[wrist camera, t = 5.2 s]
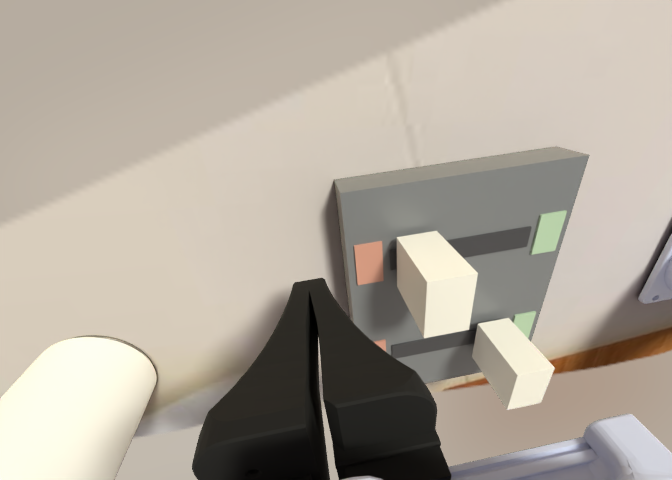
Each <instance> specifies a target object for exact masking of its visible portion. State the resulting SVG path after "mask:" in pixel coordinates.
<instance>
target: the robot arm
mask: <svg viewBox="0 0 672 480" xmlns="http://www.w3.org/2000/svg"><path fill="white" fill-rule="evenodd" d="M669 299H672V234H671V235H670V237H669V239H668V241H667V243H666V245H665V247H664V249H663V251H662V253H661V255H660V257H659V259H658V261H657V263H656V264H655V266H654V268H653V270H652V272H651V274H650V276H649V278H648V280H647V282H646V284H645V286H644V288H643V290H642V291H641V293H640V295H639V298H638V300H639V301H640V302H642V303H644V304H648V303H653V302H659V301H664V300H669ZM318 337H319V344H320V355H321V368H322V383H323V400H324V404H325V409H326V414H327V418H328V423H329V428H330V432H331V437H332V441H333V450H334V458H335V466H336V469H337V472H338V477H339V480H672V453H671V452H670V451H669V450H668V449H667V448H666V447H665V446H664V445H663V444H662V443H661V442H660V441H659V440H658V439H657V438H656V437H655V436H654V435H653V434H652V433H651V432H650V431H649V430H648V429H646V427H644V426H643V425H642V424H641V423H640V422H639V421H638V420H637V419H636V418H635V417H634V416H633V415H632V414H623V415H618V416H614V417H609V418H605V419H601V420H597V421H595V422H593V423H591V424H590V425H589V426H588V427H587V428H586V429H585V432H584V436H583V437H580V438H575V439H571V440H566V441H562V442H558V443H553V444H548V445H544V446H540V447H535V448H531V449H526V450H522V451H518V452H513V453H508V454H504V455H499V456H495V457H491V458H486V459H482V460H477V461H473V462H468V463H464V464H459V465H455V466H450V467H448V465H447V463H446V460H445V458H444V456H443V453H442V451H441V448H440V445H441V443H440V440H439V437H438V435H437V432H436V430H435V426H436V416H437V407H436V403H435V401H434V398H433V397H432V395H431V393H430V391H429V390H428V388H427V386H426V385H425V383H424V382H423V380H422V379H421V378H420V376H419V375H418V374H417V372H416V371H415V370H413V369H411V368H410V367H408V366H406V365H405V364H403V363H402V362H400V361H398V360H397V359H395V358H394V357H393V356H391V355H390V354H388V353H387V352H385V351H384V350H383V349H382V348H381V347H379V346H378V345H377V344H376V343H374V342H373V341H372V340H371V339H369V338H368V337H367V336H366V335H365V334H364V333H363V332H362V331H361V330H360V329H359V328H358V327H357V326H356V325H355V324H354V323H353V322H352V321H351V320H350V318H349V317H348V316H347V315H346V314H345V312H344V311H343V310H342V308H341V307H340V306H339V304H338V303H337V301H336V300H335V299H334V297H333V295H332V294H331V292H330V290H329V288H328V286H327V284H326V282H325V279H323V278H318V279H312V280H307V281H301V282H295V283H294V285H293V288H292V291H291V294H290V297H289V300H288V303H287V305H286V307H285V310H284V312H283V314H282V317H281V319H280V321H279V323H278V325H277V327H276V328H275V330H274V332H273V334H272V336H271V337H270V339H269V341H268V342H267V344H266V346H265V347H264V349H263V350H262V352H261V353H260V354H259V356H258V357H257V359H256V360H255V361H254V363H253V364H252V365H251V367H250V368H249V369H248V370H247V372H246V373H245V374H244V375H243V376H242V377H241V379H240V380H239V381H238V382H237V383H236V385H235V386H234V387H233V388H232V389H231V390H230V391H229V392H228V393H227V394H226V395H225V396H224V397H223V398H222V399H221V400H220V401H219V402H218V403H217V404H216V405H215V406H214V407H213V408H212V409H211V410H210V411H209V412H208V414H207V417H206V419H205V422H204V424H203V427H202V430H201V433H200V435H199V439H198V443H197V447H196V451H195V455H194V459H193V464H192V470H193V472H194V475H195V476H196V477H197V479H198V480H330V477H329V469H328V461H327V453H326V445H325V436H324V427H323V419H322V410H321V401H320V392H319V365H318Z"/></svg>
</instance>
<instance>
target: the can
mask: <svg viewBox="0 0 672 480" xmlns="http://www.w3.org/2000/svg"><path fill="white" fill-rule="evenodd" d="M156 381H157V376H156V372H155V369H154V367H153V365H152V363H151V361H150V359H149V358H148V357H147V355H146V354H145V353H144V352H142V351H141V350H140V349H138V348H137V347H135V346H133V345H131V344H129V343H127V342H125V341H122V340H119V339H115V338H111V337H105V336H81V337H75V338H71V339H67V340H64V341H61V342H58V343H56V344H54V345H52V346H50V347H49V348H47V349H46V350H45V351H44V352H43V353H42V354H41V355H40V356H39V357H38V358H37V359H36V360H35V361H34V362H33V363H32V364H31V366H30V367H29V368H28V369H27V370H26V371H25V372H24V373H23V374H22V375H21V376H20V378H19V379H18V380H17V381H16V382H15V383H14V384H13V385H12V386H11V387H10V388H9V390H8V391H7V392H6V393H5V394H4V395H3V396H2V397H1V398H0V480H115V477H116V475H117V473H118V470H119V468H120V466H121V464H122V461H123V459H124V457H125V454H126V452H127V450H128V448H129V445H130V443H131V441H132V438H133V436H134V434H135V432H136V429H137V427H138V425H139V422H140V420H141V418H142V416H143V413H144V411H145V409H146V406H147V404H148V402H149V399H150V397H151V395H152V392H153V390H154V387H155V385H156Z"/></svg>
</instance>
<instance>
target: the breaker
mask: <svg viewBox="0 0 672 480" xmlns="http://www.w3.org/2000/svg"><path fill="white" fill-rule="evenodd" d="M472 358H473V359H474V361H475V362H476V364H477V365H478V367H479V368H480V370H481V371H482V373H483V374H484V376H485V377H486V379H487V380H488V382H489V383H490V385H491V386H492V388H493V389H494V391H495V392H496V394H497V396H498V397H499V399H500V400H501V402H502V403H503V405H504V406H505V407H506V409H507V410H509V409H514V408H519V407H524V406H528V405H533V404H537V403H541V401H542V399H543V396H544V393H545V391H546V389H547V386H548V384H549V381H550V378H551V376H552V374H553V371H554V369H555V368H554V366H553V365H552V364H551V363H550V362H549V361H548V360H547V359H546V358H545V357H544V356H543V355H542V353H541V352H540V351H539V350H538V349H537V348H536V347H535V346H534V345H533V344H532V343H531V341H530V340H529V339H528V338H527V337H526V336H525V335H524V334H523V333H522V332H521V331H520V330H519V328H518V327H517V326H516V325H515V324H514V323H513V322H512V321H511V320H510V319H509V318H505V319H500V320H495V321H489V322H484V323H479V324H478V325H477V331H476V336H475V342H474V348H473V353H472Z"/></svg>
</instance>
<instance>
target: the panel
mask: <svg viewBox="0 0 672 480" xmlns="http://www.w3.org/2000/svg"><path fill="white" fill-rule="evenodd" d="M588 158H589V155H587V154H583V153H579V152H576V151H572V150H568V149H564V148H560V147H550V148H543V149H537V150H530V151H523V152H517V153H510V154H503V155H497V156H490V157H483V158H477V159H470V160H463V161H457V162H450V163H443V164H436V165H430V166H423V167H416V168H410V169H403V170H396V171H390V172H383V173H376V174H370V175H363V176H356V177H350V178H343V179H336V180H334V183H335V191H336V200H337V209H338V217H339V226H340V235H341V243H342V252H343V261H344V270H345V278H346V287H347V296H348V304H349V313H350V320H351V321H352V322H353V323H354V324H355V325H356V326H357V327H358V328H359V329H360V330H361V331H362V332H363V333H364V334H365V335H366V336H367V337H368V338H369V339H371V340H372V341H373V342H374V343H376V344H377V345H378V346H379V347H381V348H382V349H383V350H384V351H385V352H387V353H388V354H390V355H391V356H393V357H394V358H395V359H397V360H398V361H400V362H402V363H403V364H405V365H406V366H408V367H410V368H411V369H413V370H415V371H416V372H417V374H418V375H419V376H420V378H421V379H422V380H423V382H424V383H430V382H435V381H440V380H445V379H450V378H455V377H460V376H465V375H470V374H474V373H479V372H482V371H481V370H480V368H479V367H478V365H477V364H476V362H475V361H474V359H473V358H472V353H473V348H474V342H475V336H476V331H477V325H478V324H479V323H484V322H489V321H495V320H500V319H505V318H509V319H510V320H511V321H512V322H513V323H514V324H515V325H516V326H517V327H518V328H519V330H520V331H521V332H522V333H523V334H524V335H525V336H526V337H527V338H528V339H529V340H530V341H531V339H532V336H533V333H534V330H535V327H536V324H537V320H538V317H539V314H540V311H541V308H542V304H543V301H544V298H545V295H546V292H547V289H548V285H549V282H550V279H551V276H552V273H553V269H554V266H555V263H556V260H557V257H558V253H559V250H560V247H561V244H562V241H563V238H564V234H565V231H566V228H567V225H568V222H569V218H570V215H571V212H572V209H573V206H574V203H575V199H576V196H577V193H578V190H579V187H580V183H581V180H582V177H583V174H584V171H585V167H586V164H587V161H588ZM432 231H437V232H438V233H439V234H440V235H441V236H442V237H443V238H444V239H445V240H446V241H447V242H448V243H449V244H450V245H451V246H452V247H453V248H454V249H455V250H456V251H457V252H458V253H459V254H460V255H461V256H462V257H463V258H464V259H465V260H466V261H467V262H468V263H469V264H470V266H471V267H472V268H473V269H474V270H475V271H476V272H477V273H478V276H477V282H476V289H475V295H474V301H473V307H472V314H471V320H470V326H469V330H465V331H460V332H454V333H449V334H444V335H439V336H434V337H428V338H424V337H423V335H422V333H421V332H420V330H419V328H418V326H417V324H416V322H415V320H414V318H413V316H412V314H411V312H410V310H409V309H408V307H407V305H406V303H405V301H404V299H403V297H402V295H401V293H400V291H399V289H398V287H397V237H401V236H407V235H413V234H420V233H426V232H432Z"/></svg>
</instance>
